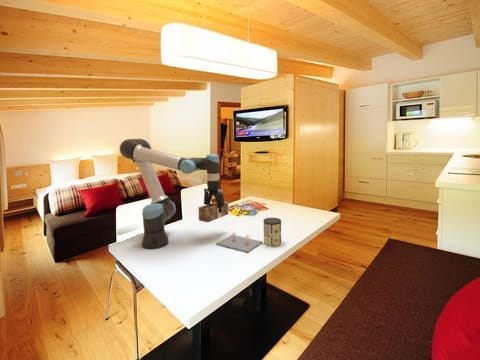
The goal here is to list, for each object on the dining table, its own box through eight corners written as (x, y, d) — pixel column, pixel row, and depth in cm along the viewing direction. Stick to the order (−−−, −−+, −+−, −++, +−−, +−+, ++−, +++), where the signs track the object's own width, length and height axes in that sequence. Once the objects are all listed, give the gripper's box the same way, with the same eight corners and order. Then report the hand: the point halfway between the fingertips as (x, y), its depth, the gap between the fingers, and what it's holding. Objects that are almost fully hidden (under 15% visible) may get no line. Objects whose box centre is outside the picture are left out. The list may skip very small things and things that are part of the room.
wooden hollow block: (207, 222, 155) (207, 209, 154) (198, 220, 159) (198, 207, 158) (228, 214, 172) (228, 201, 170) (219, 212, 176) (219, 200, 174)
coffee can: (270, 238, 165) (270, 216, 162) (284, 242, 158) (284, 219, 155) (260, 243, 157) (259, 220, 155) (274, 248, 150) (274, 224, 148)
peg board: (216, 244, 157) (215, 234, 156) (232, 236, 170) (231, 226, 169) (247, 253, 145) (247, 241, 144) (262, 243, 158) (262, 232, 157)
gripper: (196, 179, 164) (198, 215, 168) (222, 182, 153) (223, 221, 157) (205, 177, 170) (206, 212, 174) (230, 180, 159) (230, 217, 163)
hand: (214, 216), depth 165 cm, fingers closed on wooden hollow block, 7 cm apart
